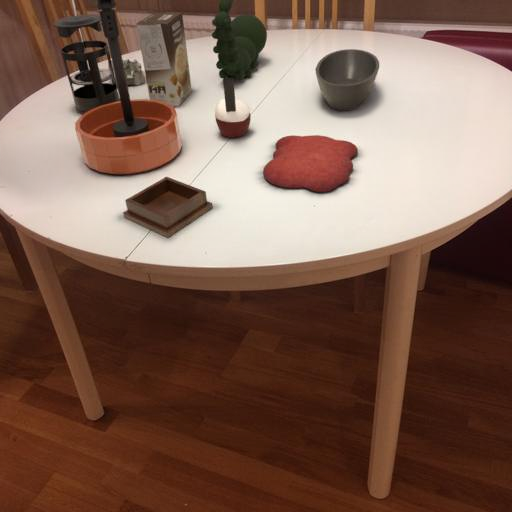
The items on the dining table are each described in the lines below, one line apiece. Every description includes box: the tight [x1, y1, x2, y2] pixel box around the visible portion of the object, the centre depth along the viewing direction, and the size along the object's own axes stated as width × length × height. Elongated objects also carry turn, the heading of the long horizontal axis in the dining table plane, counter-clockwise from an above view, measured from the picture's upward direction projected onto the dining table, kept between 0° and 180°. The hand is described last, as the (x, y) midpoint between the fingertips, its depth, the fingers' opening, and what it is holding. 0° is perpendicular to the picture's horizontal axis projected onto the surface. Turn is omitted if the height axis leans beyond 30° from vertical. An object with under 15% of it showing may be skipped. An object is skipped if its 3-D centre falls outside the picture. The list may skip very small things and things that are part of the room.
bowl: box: [315, 48, 380, 112], centre depth 104 cm, size 12×22×6 cm, turn 167°
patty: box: [262, 134, 358, 193], centre depth 84 cm, size 18×14×2 cm
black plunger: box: [106, 36, 149, 137], centre depth 84 cm, size 6×6×22 cm
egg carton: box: [107, 58, 145, 86], centre depth 121 cm, size 11×8×4 cm
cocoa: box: [214, 77, 252, 139], centre depth 91 cm, size 10×6×12 cm, turn 158°
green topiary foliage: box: [211, 0, 268, 80], centre depth 117 cm, size 9×19×25 cm
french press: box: [53, 0, 120, 115], centre depth 103 cm, size 12×9×23 cm
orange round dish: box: [74, 98, 183, 175], centre depth 89 cm, size 17×17×6 cm
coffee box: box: [136, 11, 193, 108], centre depth 106 cm, size 9×6×16 cm
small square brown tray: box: [122, 176, 214, 238], centre depth 74 cm, size 9×9×3 cm
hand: (111, 35), depth 81 cm, fingers closed on black plunger
